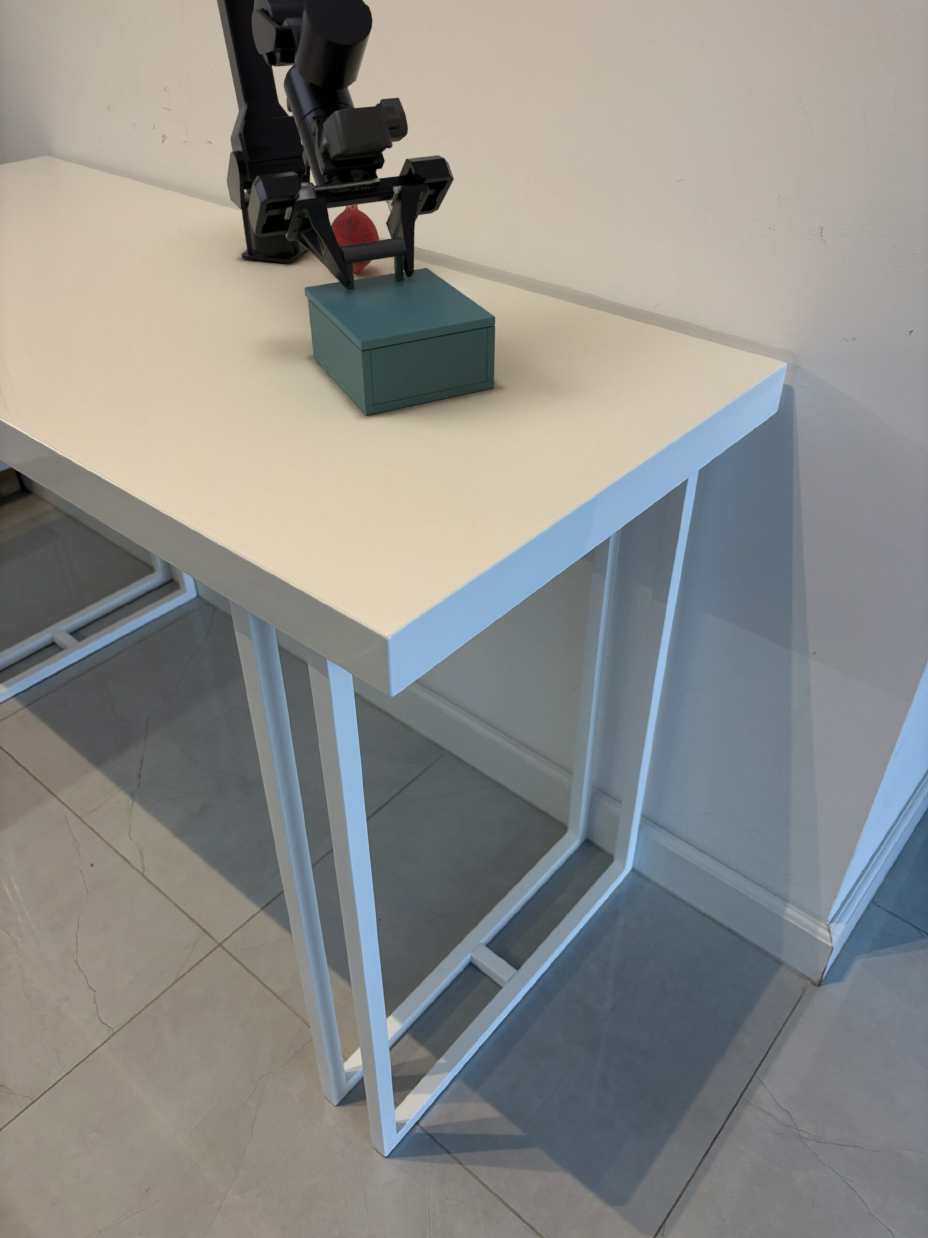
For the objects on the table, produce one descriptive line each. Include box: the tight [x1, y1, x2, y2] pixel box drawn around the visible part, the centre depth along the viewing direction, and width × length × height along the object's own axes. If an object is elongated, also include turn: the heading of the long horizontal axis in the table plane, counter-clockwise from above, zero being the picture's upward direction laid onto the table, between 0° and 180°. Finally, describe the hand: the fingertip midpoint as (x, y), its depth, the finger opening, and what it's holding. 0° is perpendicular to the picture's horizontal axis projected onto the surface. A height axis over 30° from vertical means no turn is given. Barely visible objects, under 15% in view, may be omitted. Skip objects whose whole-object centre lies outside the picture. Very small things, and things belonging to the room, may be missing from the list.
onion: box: [331, 204, 380, 274], centre depth 107 cm, size 6×6×8 cm
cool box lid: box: [303, 237, 496, 350], centre depth 83 cm, size 14×13×5 cm
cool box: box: [307, 298, 496, 416], centre depth 86 cm, size 14×13×6 cm
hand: (379, 279), depth 86 cm, fingers closed on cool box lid, 6 cm apart
